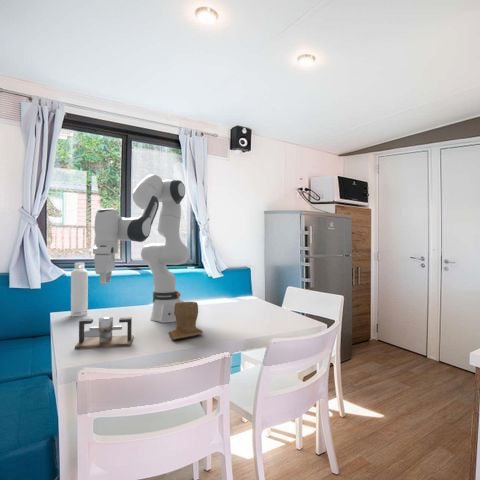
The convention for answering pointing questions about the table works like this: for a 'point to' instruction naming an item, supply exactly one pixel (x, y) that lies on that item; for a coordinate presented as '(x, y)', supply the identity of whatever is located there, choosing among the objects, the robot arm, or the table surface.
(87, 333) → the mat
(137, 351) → the table surface
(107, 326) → the grey crossbar piece
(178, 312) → the brown upright based slab
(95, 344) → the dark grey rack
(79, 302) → the bottle
